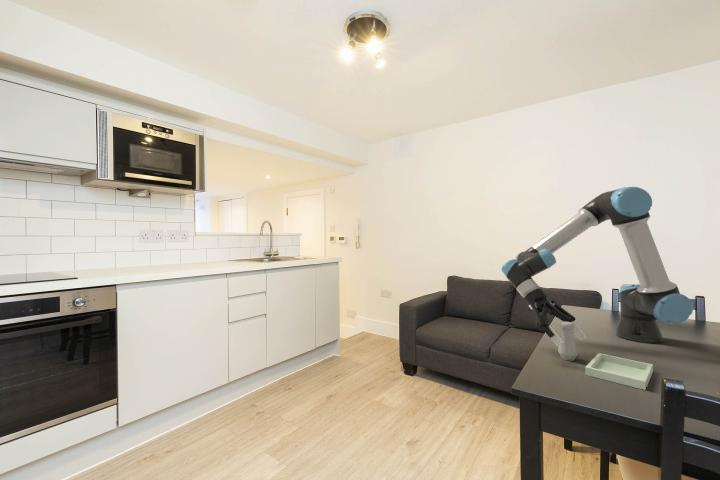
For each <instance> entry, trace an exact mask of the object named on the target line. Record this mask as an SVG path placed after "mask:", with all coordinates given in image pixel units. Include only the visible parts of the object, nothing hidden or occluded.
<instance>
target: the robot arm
mask: <svg viewBox="0 0 720 480" xmlns="http://www.w3.org/2000/svg"><path fill="white" fill-rule="evenodd" d="M651 207H653V199H652V196H651V194H650V193H649V192H648V191H647V190H645V189H643V188H642V187H638V186H627V187H625V186H624V187H620V188H617V189H613V190H609V191H606V192H602V193H601V194H599V195H597V196H596V197H594V198H593V199H592V200H590V201H588V202H587V203H586V204H584V205H583V206H582V207H581V208H579V209H578V213H576V214H575V215H574V216H572V217H571V218H570V219H568V220H567V221H566V222H564V223H562V224H561V225H560V226H558V227H557V228H556V229H554V230H553V231H552V232H550V233H548V234H547V235H546V236H545V237H542V239H540V240H539V241H538V242H536V243H535V244H533V245H532V246H530V247H529V248H527V249H526V250H524V251H521V252H519V253H517V254H516V255H515V259H514V258H513V259H510V260H508V261H506V262H505V263H503V265H502V266H501V272H502V273H503V274H504V275H505V277H506V279H507V280H508V281H509V282H510V283H511V285H512V286H513V287H514V288H515V290H516V291H517V292H518V293H519V294H520V296H521V297H522V298H523V299H524V301H525V302H526V303H527V305H528V306H527V309H528V310H529V312H530V315H531V317H532V320H533V322H534V324H535V327H536V328H537V330H539V331H540V332H543V331H544V332H545V334H546V335H547V336H548V337H549V338H550V340H551V341H552V342H553V344H555V346H556V347H558V348H559V346H560V345H562V344H563V343H564V342H563V340H562V339H561V336H560V335H559V334H558V333H557V332H556V331H555V329H554V328H553V327H552V326H551V325H549V323H548V322H549V321H548V316H547V315H549V316H554V317H555V318H557V319H558V320H561V322H571V323H573V324H574V325H575V329H574V330H573V334H574V337H576V338H577V339H578V340H579V341H580V342H581V341H583V340H584V339H586V338H588V337H587V334H585V333H584V332H583V331H582V329H581V328H580V327H579V326H578V324H577V323H576V322H575V321H576V317H575V316H574V315H572V314H571V313H570V312H568V311H567V310H566V309H564V308H563V307H562V306H560V305H559V304H558V302H556V301H555V300H554V299H551V301H549V300H547V298H548V295H547V293H545V291H544V290H543V289H542V288H541V287H540V285H539V284H538V283H537V282H536V281H535V280H534V279H533V277H534V276H536V275H538V274H540V273H542V272H544V271H546V270H547V269H550V268H551V267H553V266H554V265H555V264H556V263H557V260H556V257H555V256H554V253H555V252H557V251H558V250H559V249H561V248H562V247H564V246H565V245H567V244H569V242H571V241H573V240H574V239H576V238H577V237H578V236H580V235H581V234H583V233H584V232H586V231H587V230H588V229H589V228H591V227H597V226H599V225H600V224H602V223H604V222H606V221H608V220H610V222H611V224H612V225H611V226H613V227H615V228H617V229H618V230H619V232H620V235H621V238H622V241H623V243H624V246H625V248H626V251H627V254H628V257H629V259H630V262H631V264H632V266H633V269H634V272H635V275H636V277H637V280H638V283H639V284H627V283H625V284H622V285H620V287H619V297H620V298H619V299H620V300H619V302H620V304H619V305H620V306H619V307H620V318H619V320H618V324H617V327H616V328H615V335H616V336H617V337H619V338H622V339H625V340H629V341H633V342H638V343H645V344H646V343H647V344H649V343H650V344H658V343H663V342H664V335H663V334H662V333H661V332H662V331H661V329H660V326H659V324H658V321H659V322H661V323H666V324H672V325H677V324H681V323H683V322H686V321H687V320H688V319H689V318H690V316H691V315H692V314H693V311H694V305H693V302H692V300H691V299H690V298H689V297H688V296H686V295H684V294H683V293H681V292H680V290H679V288H678V285H677V284H676V283H675V282H673V281H671V280H670V279H669V276H668V273H667V271H666V268H665V265H664V263H663V260H662V258H661V255H660V253H659V250H658V247H657V245H656V243H655V239H654V238H653V237H654V236H653V235H652V233H651V229H650V227H649V224H648V220H649V219H650V218H651V214H650V212H649V211H650V210H651Z"/></svg>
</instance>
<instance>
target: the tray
mask: <svg viewBox="0 0 720 480" xmlns="http://www.w3.org/2000/svg"><path fill="white" fill-rule="evenodd" d="M584 370H585V373H584V375H585V376H589V377H592V378H597V379H601V380H604V381H608V382H613V383H615V384H616V383H617V384H619V385H624V386H628V387H631V388H636V389H639V390H642V389H643V390H642V391H646V389H647V388H648V385H649V382H650V380H651V378H652V375H653V373H654V364H652V363H648V362H644V361H638V360H633V359H629V358H625V357H620V356H616V355H615V356H614V355H611V354H604V353H601V352H598V353H597V354H596V355H595V356H594V357H593V358H592V359H591V361H590V362H588V363H587V364H586V366H585V369H584ZM646 387H647V388H646Z"/></svg>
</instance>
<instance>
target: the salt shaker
mask: <svg viewBox="0 0 720 480" xmlns="http://www.w3.org/2000/svg"><path fill="white" fill-rule="evenodd" d="M559 327H560V328H561V329H562V331H561V336H560V338H561V339H562V340H563V342H564V343H563V344H562V345H560V346H559V347H558V349H557V351H558V353H559V356H560V358H561V359H563V360H564V361H571V362H572V361H574V360H576V359H577V356H578V347H577V344H576V339H575V334H574V333H573V330H574V329H575V325H574V324H573V323H571V322H563V321H561V322H560V325H559Z"/></svg>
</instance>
